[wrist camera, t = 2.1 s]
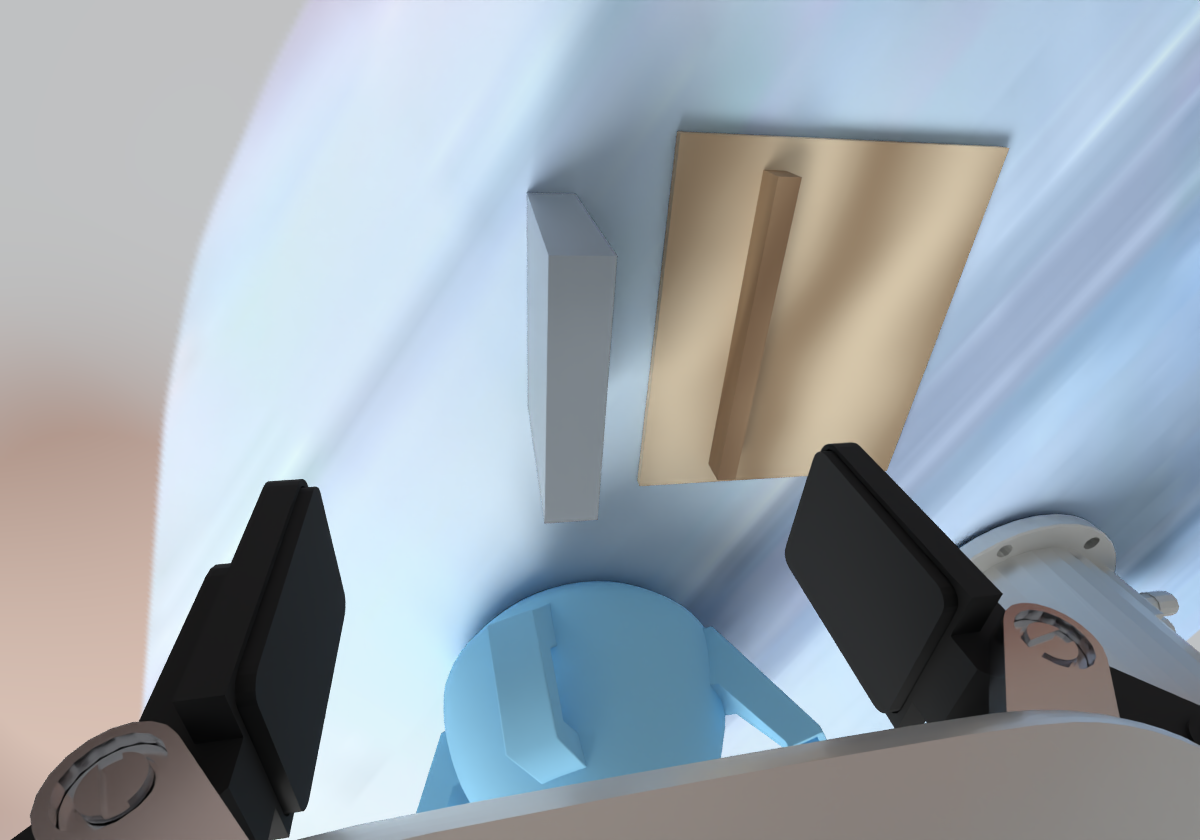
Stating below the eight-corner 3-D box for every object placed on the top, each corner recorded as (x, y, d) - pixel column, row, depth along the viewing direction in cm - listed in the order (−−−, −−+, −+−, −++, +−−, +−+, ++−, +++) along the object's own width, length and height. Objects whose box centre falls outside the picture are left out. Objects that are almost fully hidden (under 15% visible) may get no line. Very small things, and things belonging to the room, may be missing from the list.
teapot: (769, 581, 32) (885, 792, 23) (647, 746, 38) (700, 962, 29) (492, 523, 27) (499, 768, 18) (403, 727, 33) (376, 983, 24)
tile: (575, 193, 20) (617, 255, 14) (567, 403, 24) (597, 519, 18) (526, 192, 20) (548, 255, 14) (527, 405, 24) (544, 523, 18)
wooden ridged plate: (1001, 146, 21) (1035, 153, 20) (881, 466, 29) (901, 486, 27) (677, 131, 19) (692, 137, 18) (637, 480, 27) (645, 503, 25)
